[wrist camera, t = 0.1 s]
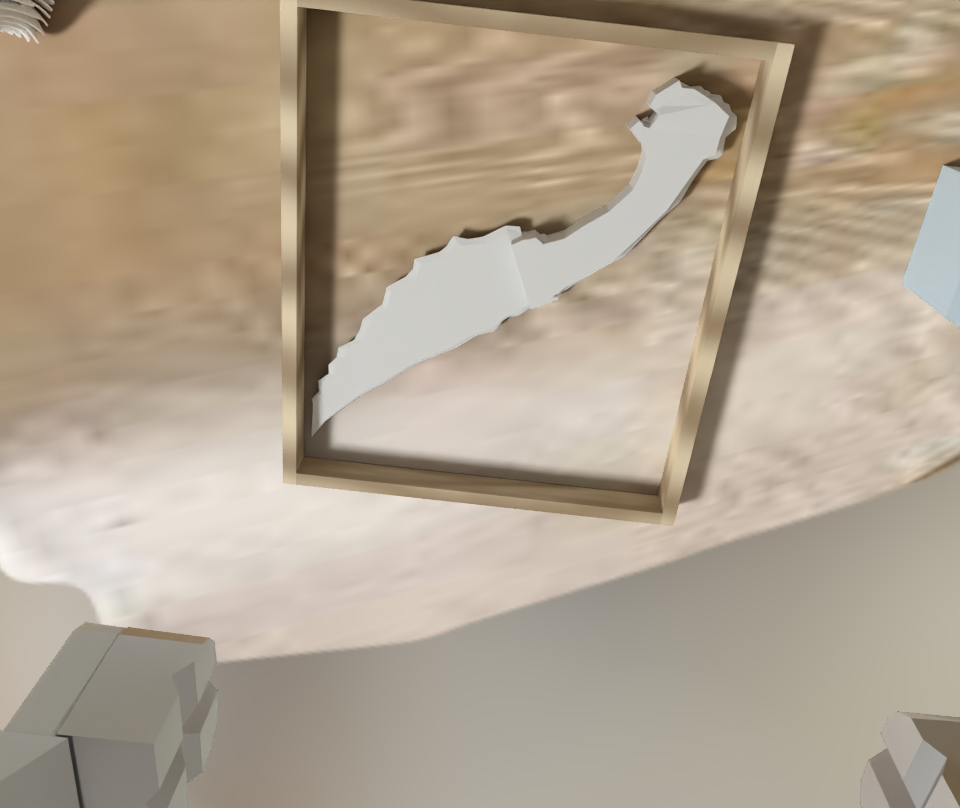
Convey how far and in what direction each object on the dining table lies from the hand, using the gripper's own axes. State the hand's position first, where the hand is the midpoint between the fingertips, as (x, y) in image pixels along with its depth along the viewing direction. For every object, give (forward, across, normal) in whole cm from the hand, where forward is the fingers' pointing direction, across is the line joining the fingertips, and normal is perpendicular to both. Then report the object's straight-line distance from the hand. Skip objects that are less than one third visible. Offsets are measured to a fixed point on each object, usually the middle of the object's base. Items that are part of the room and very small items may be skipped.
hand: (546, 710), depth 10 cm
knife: (+49, 0, +10) cm, 50 cm away
